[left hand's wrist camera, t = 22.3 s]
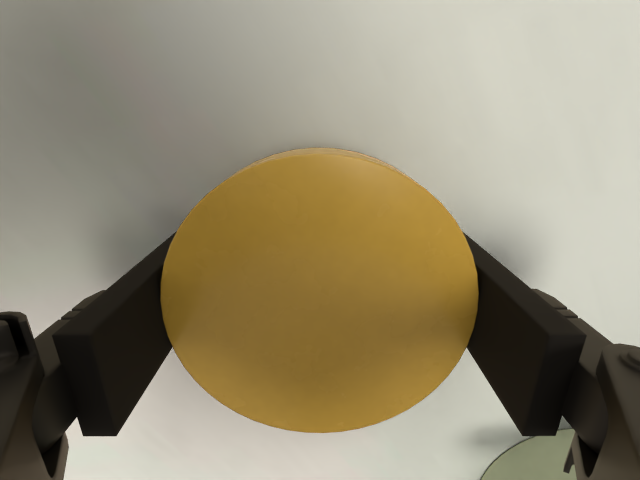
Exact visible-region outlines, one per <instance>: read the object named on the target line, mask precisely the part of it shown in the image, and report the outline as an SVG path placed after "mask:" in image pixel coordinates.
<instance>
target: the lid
mask: <svg viewBox="0 0 640 480" xmlns="http://www.w3.org/2000/svg"><path fill="white" fill-rule="evenodd" d="M478 296H479V290H478V278H477V271H476V267H475V263H474V258H473V255H472V252H471V250H470V247H469V245H468V242H467V240H466V237H465V236H464V234H463V232H462V231H461V229H460V227H459V226H458V224H457V222H456V221H455V219H454V218H453V217H452V216H451V214H450V213H449V212H448V211H447V209H446V208H445V207H444V206H443V205H442V203H441V202H439V201H438V200H437V199H436V198H435V197H434V196H433V195H432V194H431V193H429V192H428V191H427V190H426V189H425V188H424V187H422V186H421V185H419V184H418V183H417V182H415V181H414V180H413V179H411V178H410V177H408V176H407V175H405V174H404V173H402V172H401V171H399V170H398V169H396V168H395V167H393V166H391V165H389V164H387V163H385V162H383V161H381V160H379V159H377V158H374V157H371V156H368V155H364V154H361V153H358V152H354V151H349V150H343V149H337V148H316V147H315V148H304V149H294V150H290V151H286V152H282V153H277V154H274V155H271V156H268V157H266V158H263V159H261V160H258V161H256V162H254V163H252V164H250V165H248V166H246V167H245V168H243V169H241V170H239V171H238V172H236V173H235V174H234V175H232V176H231V177H229V178H228V179H227V180H225V181H224V182H223V183H221V184H220V185H219V186H217V187H216V188H215V189H213V190H212V191H211V192H209V193H208V194H207V195H206V196H205V197H204V198H203V199H202V200H201V201H200V202H199V203H198V204H197V205H196V206H195V207H194V208H193V209H192V210H191V211H190V213H189V214H188V216H187V217H186V218H185V220H184V221H183V222H182V224H181V225H180V227H179V228H178V230H177V232H176V234H175V236H174V238H173V240H172V242H171V244H170V247H169V250H168V253H167V256H166V259H165V262H164V266H163V272H162V278H161V308H162V315H163V321H164V324H165V328H166V331H167V335H168V337H169V340H170V342H171V344H172V346H173V349H174V351H175V353H176V354H177V356H178V358H179V359H180V361H181V363H182V364H183V366H184V367H185V369H186V370H187V371H188V372H189V374H190V375H191V376H192V377H193V378H194V380H195V381H196V382H197V383H198V384H199V385H200V386H201V387H202V388H203V389H204V390H205V391H206V392H207V393H209V394H210V395H211V396H213V397H214V398H215V399H216V400H218V401H219V402H220V403H222V404H223V405H225V406H227V407H228V408H230V409H232V410H233V411H235V412H237V413H239V414H241V415H243V416H245V417H247V418H249V419H252V420H254V421H257V422H260V423H263V424H266V425H268V426H272V427H276V428H281V429H285V430H290V431H298V432H308V433H330V432H342V431H348V430H354V429H359V428H363V427H367V426H370V425H374V424H377V423H380V422H382V421H385V420H387V419H390V418H392V417H394V416H396V415H398V414H400V413H402V412H404V411H406V410H408V409H409V408H411V407H413V406H414V405H416V404H417V403H419V402H420V401H422V400H423V399H424V398H425V397H427V396H428V395H429V394H430V393H431V392H433V391H434V390H435V389H436V388H437V387H438V386H439V385H440V384H441V383H442V382H443V381H444V380H445V379H446V377H447V376H448V375H449V374H450V373H451V371H452V370H453V368H454V367H455V366H456V364H457V363H458V362H459V360H460V358H461V356H462V354H463V352H464V351H465V349H466V347H467V345H468V342H469V340H470V337H471V334H472V332H473V329H474V324H475V320H476V315H477V310H478Z"/></svg>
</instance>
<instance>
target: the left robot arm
mask: <svg viewBox="0 0 640 480" xmlns="http://www.w3.org/2000/svg"><path fill="white" fill-rule="evenodd" d="M175 234H176V232H175V233H174V234H173V235H172V236H171V237H169V238H168V239H167V240H166V241H165V242H163V243H162V244H161V245H160V246H159V247H157V248H156V249H155V250H154V251H153V252H151V253H150V254H149V255H148V256H147V257H145V258H144V259H143V260H142V261H141V262H139V263H138V264H137V265H136V266H135V267H133V268H132V269H131V270H130V271H129V272H127V273H126V274H125V275H124V276H123V277H121V278H120V279H119V280H118V281H116V282H115V283H114V284H113V285H112V286H110V287H109V288H108V289H107V290H102V291H100V292H98V293H96V294H94V295H92V296H90V297H88V298H86V299H84V300H83V301H81V302H80V303H79V304H78V305H76V306H75V307H74V308H73V309H72V311H69V312H68V313H66V314H65V315H64V316H63V317H61V320H58V321H56V322H55V323H54V324H52V325H51V326H50V327H49V328H47V329H46V330H45V331H44V332H42V333H41V334H40V335H39V336H37V337H36V338H35V339H34V337H33V334H32V331H31V328H30V326H29V323H28V320H27V317H26V315H25V314H23V313H21V312H10V311H8V312H0V480H63V478H64V472H65V466H66V460H67V454H68V448H69V446H68V439H67V436H66V433H65V431H66V430H67V429H68V427H69V426H70V425H71V424H72V422H73V421H74V420H75V419H76V417H77V418H78V421H79V424H80V428H81V431H82V434H83V436H117V434H118V433H119V431H120V429H121V428H122V426H123V425H124V423H125V422H126V420H127V418H128V417H129V415H130V414H131V412H132V410H133V409H134V407H135V406H136V404H137V402H138V401H139V399H140V398H141V396H142V395H143V393H144V391H145V390H146V388H147V387H148V385H149V383H150V382H151V380H152V379H153V377H154V375H155V374H156V372H157V371H158V369H159V368H160V366H161V364H162V363H163V361H164V360H165V358H166V356H167V355H168V353H169V352H170V350H171V348H172V347H173V346H172V344H171V342H170V340H169V337H168V335H167V331H166V328H165V324H164V321H163V315H162V308H161V278H162V272H163V266H164V262H165V259H166V256H167V253H168V250H169V247H170V244H171V242H172V240H173V238H174V236H175ZM463 234H464V236H465V237H466V240H467V242H468V245H469V247H470V250H471V252H472V255H473V258H474V263H475V267H476V271H477V278H478V290H479V296H478V310H477V315H476V320H475V324H474V329H473V332H472V334H471V337H470V340H469V342H468V345H467V349H468V350H469V352H470V353H471V355H472V357H473V358H474V360H475V361H476V363H477V364H478V366H479V368H480V369H481V371H482V372H483V374H484V376H485V377H486V379H487V380H488V382H489V384H490V385H491V387H492V388H493V390H494V391H495V393H496V395H497V396H498V398H499V399H500V401H501V403H502V404H503V406H504V407H505V409H506V411H507V412H508V414H509V415H510V417H511V418H512V420H513V422H514V423H515V425H516V426H517V428H518V430H519V431H520V433H521V434H522V436H556V433H557V430H558V427H559V424H560V420H561V417H562V415H563V417H564V418H565V419H566V420H567V422H568V423H569V424H570V425H571V427H572V428H573V429H574V430H575V433H574V436H573V439H572V442H571V445H570V448H569V451H568V454H567V457H566V460H565V463H564V469H563V472H565V473H568V474H569V472H570V469H571V467H572V465H575V471H576V477H577V480H640V347H636V346H632V345H625V344H613V343H611V342H610V341H609V340H608V339H606V338H605V337H604V336H603V335H601V334H600V333H599V332H597V331H596V330H595V329H594V328H592V327H591V326H590V325H589V324H587V323H586V322H585V321H583V320H582V319H581V318H578V316H577V315H576V314H575V313H573V312H572V311H571V310H567V307H566V306H564V305H563V304H562V303H561V302H559V301H558V300H557V299H556V298H554V297H552V296H550V295H548V294H546V293H544V292H542V291H540V290H538V289H531V288H530V287H528V286H527V285H526V284H525V283H524V282H522V281H521V280H520V279H519V278H518V277H516V276H515V275H514V274H513V273H511V272H510V271H509V270H508V269H507V268H505V267H504V266H503V265H502V264H501V263H499V262H498V261H497V260H496V259H495V258H493V257H492V256H491V255H490V254H489V253H487V252H486V251H485V250H484V249H483V248H481V247H480V246H479V245H478V244H477V243H475V242H474V241H473V240H472V239H471V238H469V237H468V236H467V235H466V234H465V233H463Z"/></svg>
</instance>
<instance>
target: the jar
mask: <svg viewBox="0 0 640 480" xmlns="http://www.w3.org/2000/svg"><path fill="white" fill-rule="evenodd" d="M574 433H575V430H574V429H564V430H558V431H557V433H556V436H536V437H533V438H530V439H528V440H526V441H524V442H522V443H520V444H518V445H516V446H514V447H513V448H511V449H509V450H508V451H507V452H505V453H504V454H503V455H501V456H500V457H499V458H498V459H497V460H496V461H495V462H493V464H492V465H491V466H490V467H489V468H488V469H487V471H486V472H485V474H484V475H483V477H482V479H481V480H577V477H576V471H575V465H572V467H571V469H570V472H569V474H568V473H565V472H563V469H564V463H565V460H566V457H567V454H568V451H569V448H570V445H571V442H572V439H573V436H574Z"/></svg>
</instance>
